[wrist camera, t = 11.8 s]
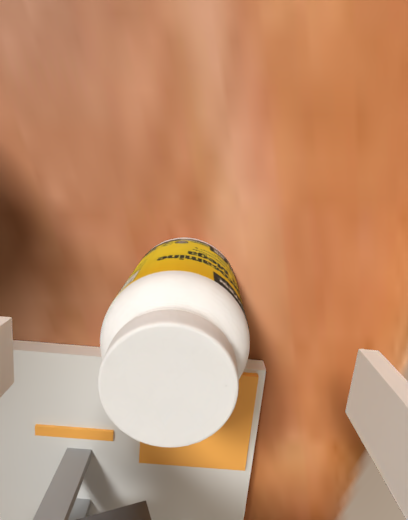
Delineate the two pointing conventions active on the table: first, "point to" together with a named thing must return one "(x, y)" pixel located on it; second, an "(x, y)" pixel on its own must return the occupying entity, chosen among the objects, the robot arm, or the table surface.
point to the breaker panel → (111, 447)
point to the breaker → (123, 513)
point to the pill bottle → (174, 346)
